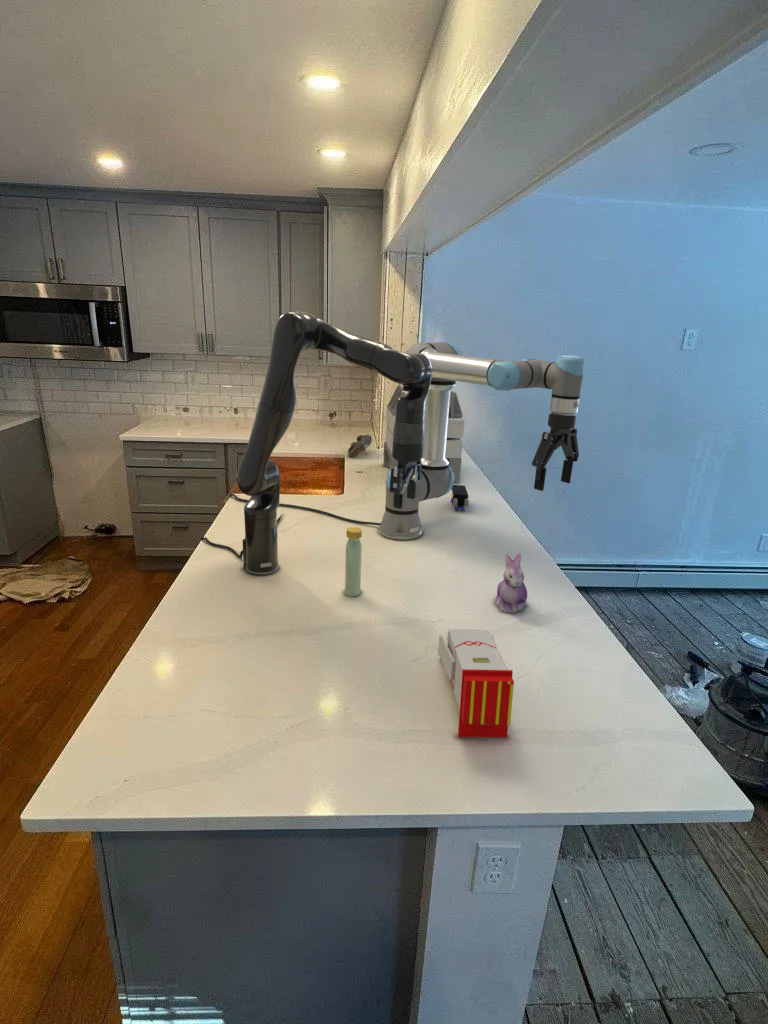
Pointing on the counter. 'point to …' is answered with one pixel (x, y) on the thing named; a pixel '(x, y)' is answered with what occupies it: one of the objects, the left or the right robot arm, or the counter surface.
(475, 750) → the counter surface
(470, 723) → the toy
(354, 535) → the cap
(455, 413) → the transformer
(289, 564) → the counter surface
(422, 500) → the right robot arm
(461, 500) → the figurine character
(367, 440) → the fossil
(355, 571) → the bottle
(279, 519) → the feather
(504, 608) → the figurine
